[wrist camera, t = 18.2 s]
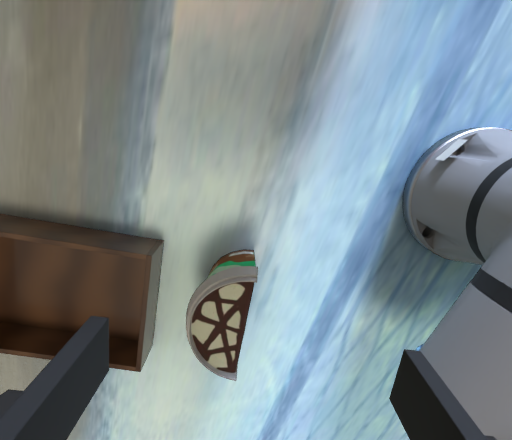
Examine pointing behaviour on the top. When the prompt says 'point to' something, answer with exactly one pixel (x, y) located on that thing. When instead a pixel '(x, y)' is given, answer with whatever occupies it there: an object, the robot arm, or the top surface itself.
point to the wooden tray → (76, 288)
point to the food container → (222, 312)
